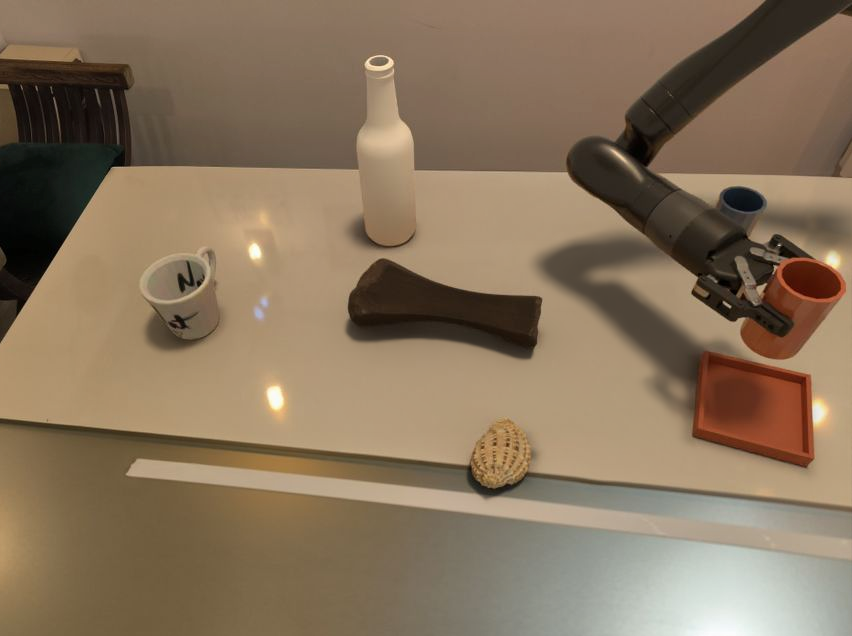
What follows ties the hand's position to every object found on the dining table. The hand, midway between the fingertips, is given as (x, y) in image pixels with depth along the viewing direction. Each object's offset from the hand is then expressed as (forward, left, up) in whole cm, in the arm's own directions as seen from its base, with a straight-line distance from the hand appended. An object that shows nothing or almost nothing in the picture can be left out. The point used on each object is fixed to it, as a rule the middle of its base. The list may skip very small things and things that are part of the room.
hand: (811, 316), depth 67 cm
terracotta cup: (+2, -1, -6) cm, 6 cm away
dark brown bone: (+43, -2, -18) cm, 46 cm away
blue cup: (+5, -31, -18) cm, 36 cm away
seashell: (+29, +19, -18) cm, 38 cm away
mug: (+80, +9, -18) cm, 82 cm away
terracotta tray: (0, +1, -18) cm, 18 cm away
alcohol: (+58, -18, -18) cm, 63 cm away
